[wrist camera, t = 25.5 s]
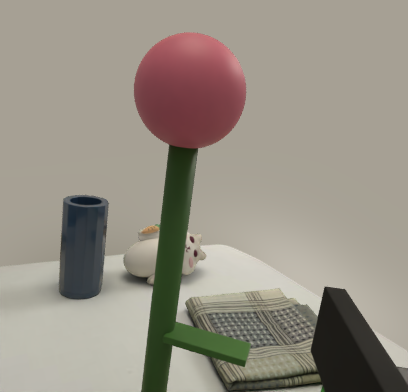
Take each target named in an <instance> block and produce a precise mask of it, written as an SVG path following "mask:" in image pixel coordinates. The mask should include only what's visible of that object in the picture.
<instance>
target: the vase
mask: <svg viewBox="0 0 408 392" xmlns="http://www.w3.org/2000/svg"><path fill="white" fill-rule="evenodd" d="M108 204H109V203H108V201H107V200H106V199H103V198H100V197H96V196H88V195H75V196H68V197H66V198H64V199H63V214H62V233H61V252H60V272H59V292H60V293H61V294H62V295H63V296H65V297H68V298H73V299H85V298H90V297H93V296H96V295H97V294H99V293H100V291H101V287H102V279H103V267H104V254H105V242H106V229H107V216H108Z"/></svg>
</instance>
